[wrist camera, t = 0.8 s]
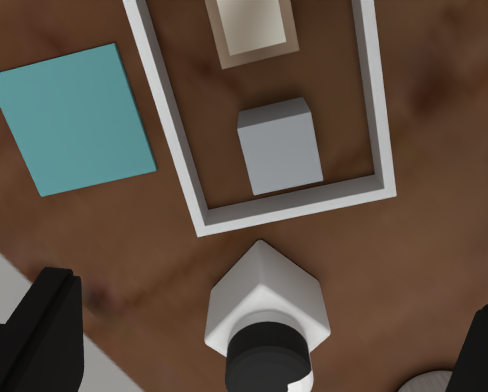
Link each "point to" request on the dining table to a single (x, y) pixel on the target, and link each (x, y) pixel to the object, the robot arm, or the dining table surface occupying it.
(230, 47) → the walnut box
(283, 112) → the slate box
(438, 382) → the ramekin
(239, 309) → the medicine bottle
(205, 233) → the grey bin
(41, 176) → the teal mat
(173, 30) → the dining table surface
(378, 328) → the dining table surface
